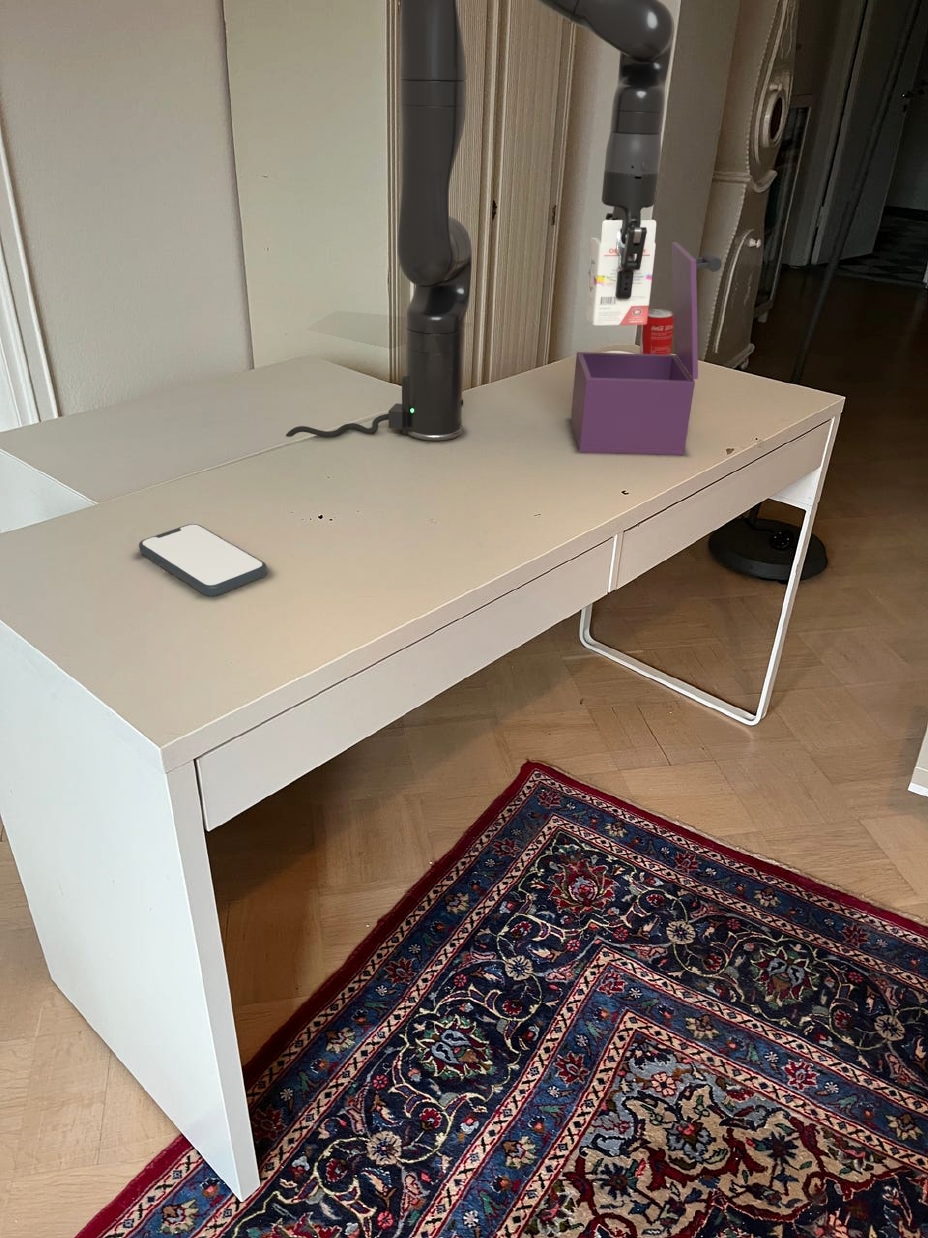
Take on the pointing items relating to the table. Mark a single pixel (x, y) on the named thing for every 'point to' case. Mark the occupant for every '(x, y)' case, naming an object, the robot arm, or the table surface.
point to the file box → (631, 403)
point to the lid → (688, 303)
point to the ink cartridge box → (604, 279)
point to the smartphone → (203, 559)
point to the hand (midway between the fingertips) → (618, 293)
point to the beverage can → (657, 333)
